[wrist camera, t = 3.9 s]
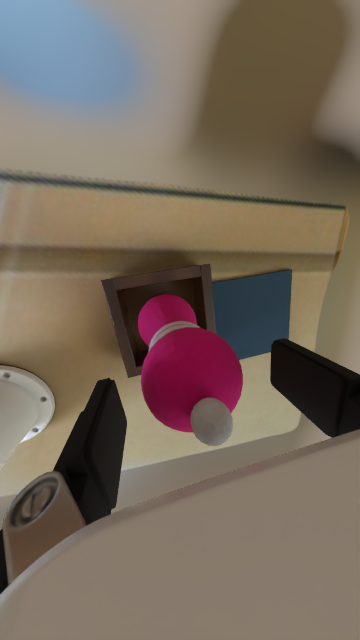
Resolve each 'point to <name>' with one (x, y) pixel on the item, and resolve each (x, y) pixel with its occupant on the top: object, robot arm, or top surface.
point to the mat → (253, 311)
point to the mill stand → (115, 285)
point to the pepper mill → (188, 371)
